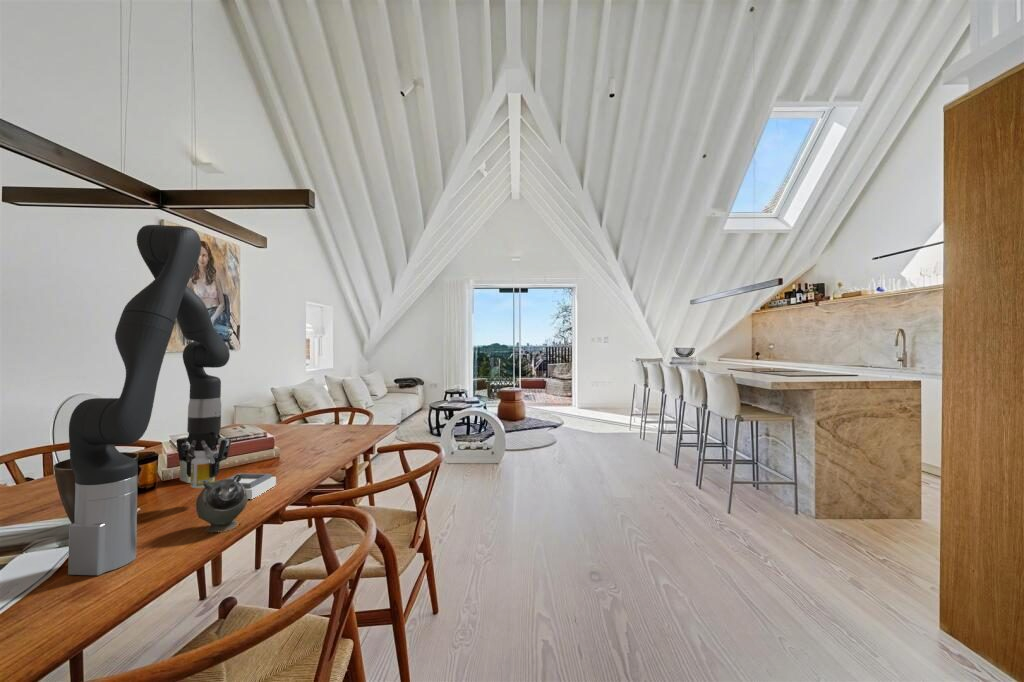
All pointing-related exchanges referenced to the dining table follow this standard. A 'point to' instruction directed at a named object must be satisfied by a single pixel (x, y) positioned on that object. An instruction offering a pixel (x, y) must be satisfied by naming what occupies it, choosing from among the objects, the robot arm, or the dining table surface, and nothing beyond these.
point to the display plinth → (256, 483)
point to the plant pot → (71, 484)
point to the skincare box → (184, 471)
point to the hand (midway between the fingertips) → (202, 476)
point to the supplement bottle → (200, 470)
